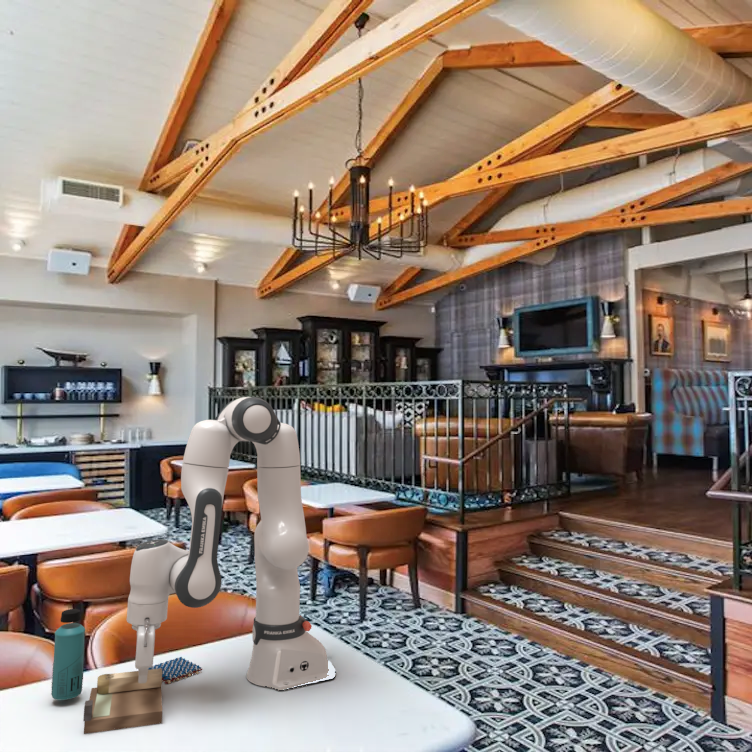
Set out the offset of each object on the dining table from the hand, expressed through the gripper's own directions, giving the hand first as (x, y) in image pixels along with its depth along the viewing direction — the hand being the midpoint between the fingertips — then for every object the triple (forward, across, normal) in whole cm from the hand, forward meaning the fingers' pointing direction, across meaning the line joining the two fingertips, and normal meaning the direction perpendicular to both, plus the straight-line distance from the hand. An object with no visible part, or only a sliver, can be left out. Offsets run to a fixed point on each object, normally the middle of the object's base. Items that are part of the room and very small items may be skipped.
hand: (142, 673), depth 141 cm
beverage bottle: (+6, +4, +16) cm, 17 cm away
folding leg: (+3, 0, +3) cm, 4 cm away
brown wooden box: (+6, -5, +3) cm, 8 cm away
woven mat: (+6, +13, -8) cm, 16 cm away
